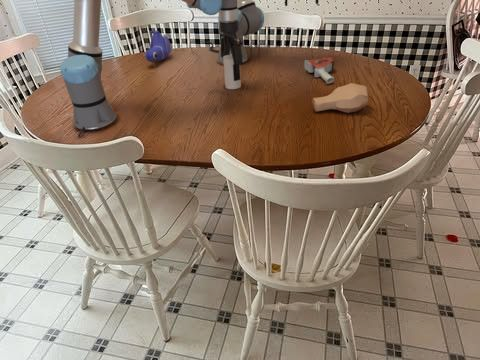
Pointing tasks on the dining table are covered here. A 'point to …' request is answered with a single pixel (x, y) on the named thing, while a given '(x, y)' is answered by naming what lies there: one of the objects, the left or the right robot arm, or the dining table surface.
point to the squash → (343, 99)
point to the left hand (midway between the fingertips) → (232, 77)
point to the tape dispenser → (321, 68)
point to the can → (230, 73)
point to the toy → (158, 48)
